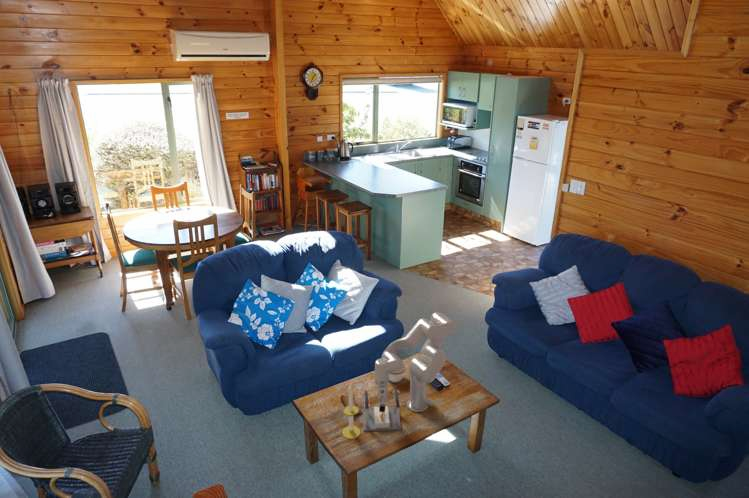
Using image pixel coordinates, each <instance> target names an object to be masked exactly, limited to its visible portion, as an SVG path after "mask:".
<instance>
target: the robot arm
mask: <svg viewBox="0 0 749 498" xmlns="http://www.w3.org/2000/svg"><path fill="white" fill-rule="evenodd" d="M456 329H457V325H456V322H454V320H452V319H451V318H449V317H448V316H446V315H445V314H443V313H442V312H439V311H434V312H433V313H431V316H430V320H429V319H427V318H424V317H423V318H419V319H418V320H417V321H416V323H414V326H412V327H411V329H410V330H409V331H408V332H407V334H406V335H405V336H404V337H402V338H398V339H396V340H394V341H392V342H391V343H390V344H389V345H388V346H387V347H386V348H385V349H384V350H383V352H382V355H381V357H380V358H378V359H376V360H375V362H374V383H375V385H376V391H377V399H378V402H379V405H378V407H379V412H385V406H386V403H387V402H388V385H389V384H390V383H389V382H390V380H389V373H390V372H397V371H400V370H401V369H402V368H403V366H404V365H405V364H404V361H403V360H402V359H401V358H400V357H398V356H397V354H396V353H397V352H399V350H401V349H403V348H414V349H415V348H417V347H418V346H419V344H420V343H421V342H422V341H423V340H424V339H425V338H427V339H426V341H425V342H424V344H423V345H422V348H421V350H420V355H422V357H423V358H425V359H426V360H427V361H428V362H427V361H426V360H424V359H423V358H421V357H418V356H416V357H412V358H411V360H410V361H409V364H408V371H409V378H410V379H409V381H410V382H409V398H408V400H407V401H406V407H407V409H409V410H410V411H411V412H415V413H421V412H425V411H426V410H427V409H428V408H429V405H434V404H435V403H434V400H432V397H427V384H430V383H432V382H433V381H434V380H435V379H436V377H437V376H438V374H439V373H440V371H441V369H443V366H444V365H445V364H446V360H447V355H446V352H445V351H444V350H443V349H442V348H441V347H442V345H443V343H444V341H446V337H449V336H451V335H452V334H454V333H455V331H456Z"/></svg>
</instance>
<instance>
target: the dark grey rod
mask: <svg viewBox="0 0 749 498" xmlns="http://www.w3.org/2000/svg"><path fill="white" fill-rule="evenodd" d="M364 394H365V408H366V409H368V407H369V395H368V391H367V390H365V391H364Z"/></svg>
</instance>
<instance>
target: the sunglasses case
mask: <svg viewBox="0 0 749 498" xmlns="http://www.w3.org/2000/svg"><path fill="white" fill-rule="evenodd" d="M339 399H340V401H341V402H342V404H343V406H344V407H345V406H347V405H349V395H340V398H339ZM353 405H355V406H357V407H358V408H359V411H358V413H357V414H355V415H353V418H355V417H359V416H363V410H362V409H361V408H360V406H359V403H358V402H357V401H356V398H355V396H353Z"/></svg>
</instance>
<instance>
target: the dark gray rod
mask: <svg viewBox="0 0 749 498" xmlns="http://www.w3.org/2000/svg"><path fill="white" fill-rule="evenodd" d="M394 393H395V398H396V406H397V408H399V407H400V402H399V401H400V400H399V394H398V390H397V389H394ZM400 408H401V407H400Z"/></svg>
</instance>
